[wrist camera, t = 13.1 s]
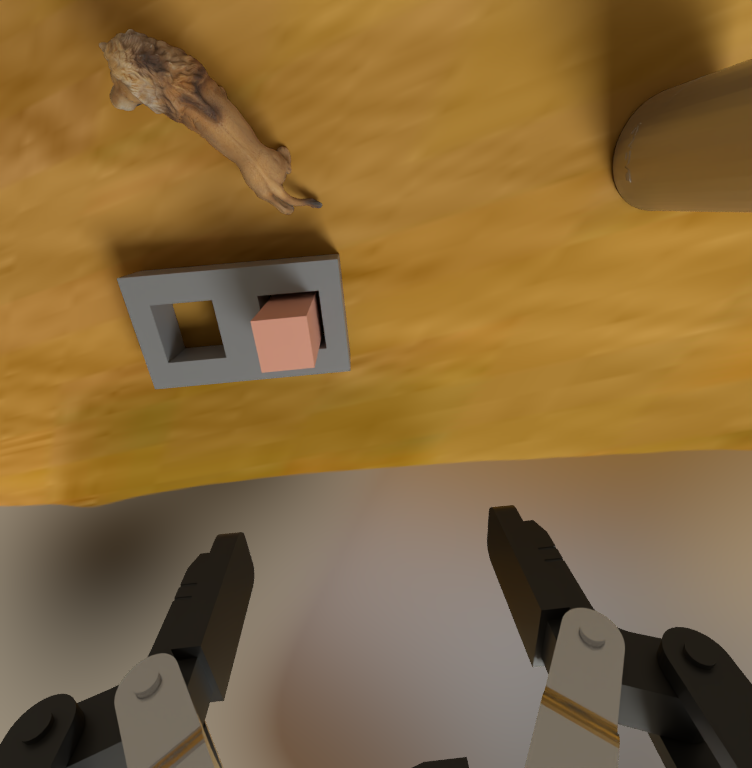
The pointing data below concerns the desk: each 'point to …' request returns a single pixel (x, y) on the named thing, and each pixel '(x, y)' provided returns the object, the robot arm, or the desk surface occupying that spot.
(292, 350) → the peg
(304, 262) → the pocket board
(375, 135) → the desk surface
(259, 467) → the desk surface
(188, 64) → the lion figurine
